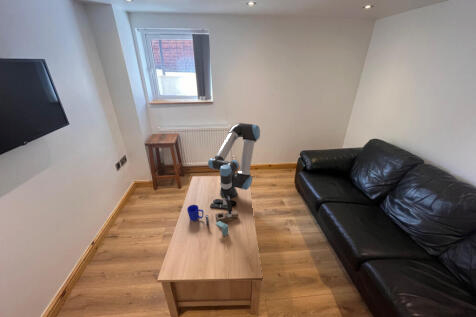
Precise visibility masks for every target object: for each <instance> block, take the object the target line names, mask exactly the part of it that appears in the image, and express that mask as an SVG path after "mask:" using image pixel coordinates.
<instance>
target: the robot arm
mask: <svg viewBox="0 0 476 317" xmlns="http://www.w3.org/2000/svg"><path fill="white" fill-rule="evenodd" d="M260 137H261V129H260V127H259V125H258V124H252V123H243V122H239V123H237V124H235V125H233V126H232V127H231V128H230V129H229V130H228V131H227V136H226V138H225V139H224V140H223V143H222V144H221V146H220V147H219V150H218V151H217V153H216V154H215V156H214V157H211V158H209V159H208V162H207V166H208V168H210V169H212V170H217V171H219V180H220V183H219V185H220V191H219V195H220V197H221V198H222V206H227V210H226V213H227V215H228V217H232V215H231V212H232V211H233V205H232V199H234V198H236V197H237V195H238V191H237V189H240V190H245V191H247V190H249V188H250V187H251V185H252V183H253V177H252V175H251V174H252V173H251V171H250V170H251V165H252V159H253V153H254V147H255V144H256V143H257V141H258V140H260ZM239 138H242V141H243V145H242V146H243V147H242V150H241V151H242V152H241V158H240V163H239V161H237V160H235V159H234V160H231V161H229V160H226V158H227V156H228V155H229V152H230V151H231V150H232V147H233V146H234V144H235V142H236V140H238V139H239ZM236 188H237V189H236Z"/></svg>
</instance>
